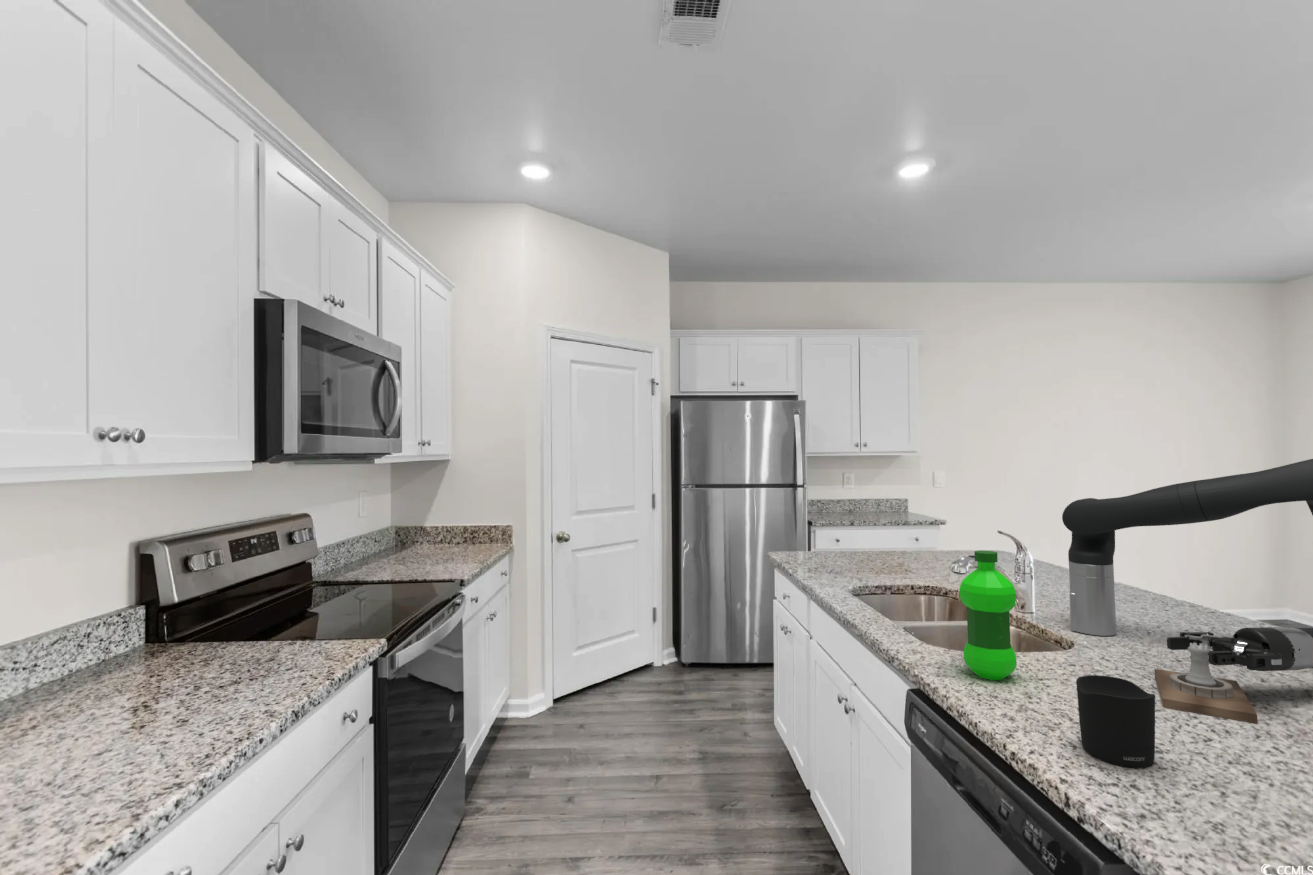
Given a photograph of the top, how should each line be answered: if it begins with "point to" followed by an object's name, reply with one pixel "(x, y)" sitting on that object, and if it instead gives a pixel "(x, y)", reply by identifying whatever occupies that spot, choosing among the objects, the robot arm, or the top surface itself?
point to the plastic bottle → (988, 619)
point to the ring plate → (1204, 697)
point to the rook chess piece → (1199, 667)
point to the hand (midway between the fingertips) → (1188, 650)
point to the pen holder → (1116, 720)
